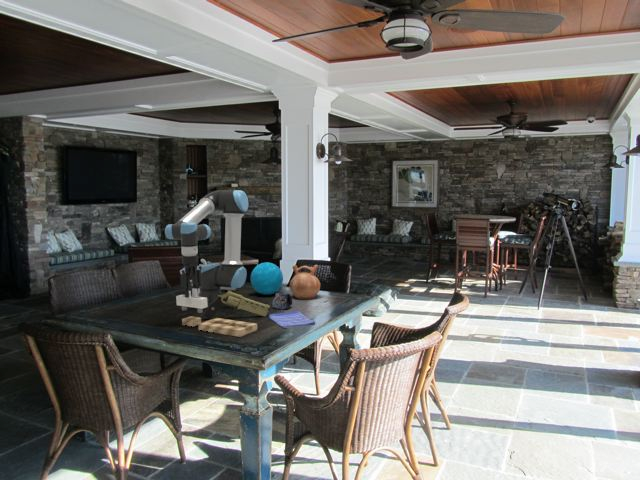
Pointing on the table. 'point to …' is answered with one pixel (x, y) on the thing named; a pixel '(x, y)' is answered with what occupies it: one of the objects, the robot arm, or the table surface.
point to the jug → (304, 283)
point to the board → (228, 327)
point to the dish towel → (291, 319)
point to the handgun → (234, 305)
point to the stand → (191, 321)
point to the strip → (192, 302)
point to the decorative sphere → (266, 278)
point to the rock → (282, 301)
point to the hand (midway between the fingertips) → (191, 302)
